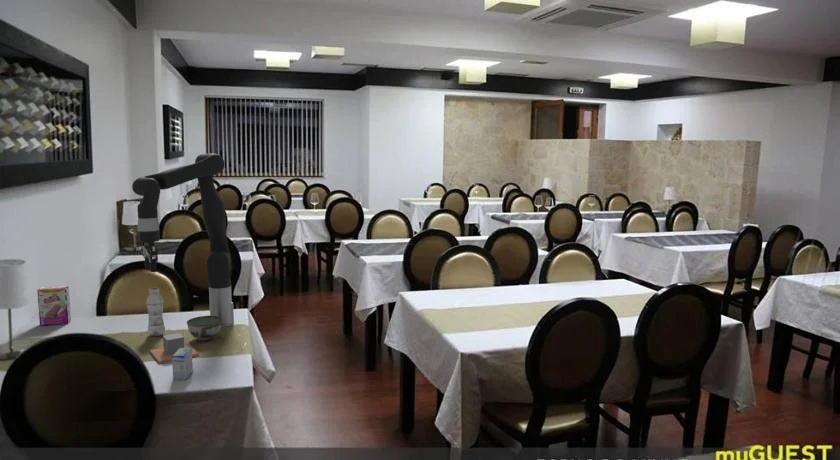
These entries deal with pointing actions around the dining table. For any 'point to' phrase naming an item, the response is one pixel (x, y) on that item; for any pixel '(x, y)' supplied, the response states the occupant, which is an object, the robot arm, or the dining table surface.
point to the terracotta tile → (164, 358)
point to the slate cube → (173, 343)
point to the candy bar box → (54, 305)
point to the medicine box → (182, 363)
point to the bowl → (204, 327)
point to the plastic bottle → (155, 313)
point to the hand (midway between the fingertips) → (150, 269)
